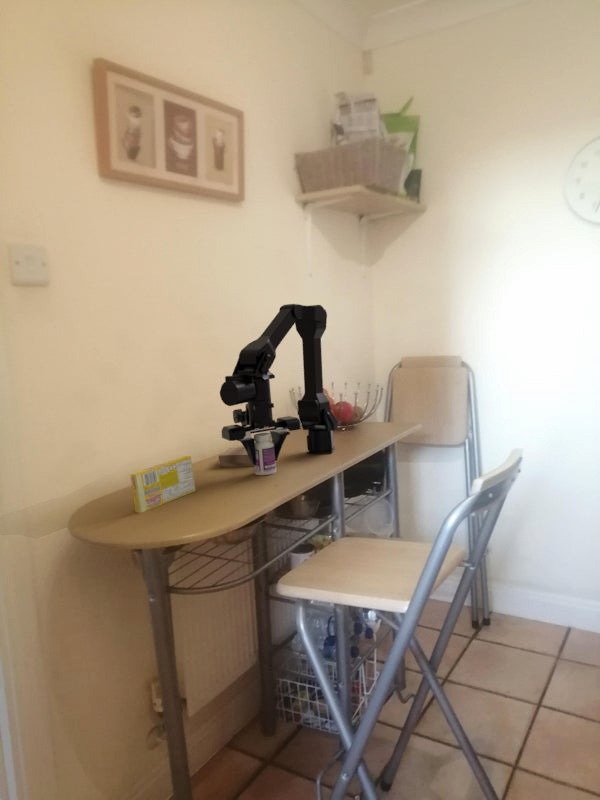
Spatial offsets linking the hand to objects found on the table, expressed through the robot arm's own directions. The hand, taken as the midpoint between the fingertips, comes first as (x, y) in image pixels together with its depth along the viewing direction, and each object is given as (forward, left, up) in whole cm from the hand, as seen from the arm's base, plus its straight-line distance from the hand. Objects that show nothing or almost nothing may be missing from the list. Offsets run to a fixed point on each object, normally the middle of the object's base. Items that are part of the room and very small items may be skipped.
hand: (264, 462), depth 150 cm
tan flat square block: (+10, -12, -2) cm, 16 cm away
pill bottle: (0, 0, -3) cm, 3 cm away
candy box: (+16, +22, -3) cm, 27 cm away
